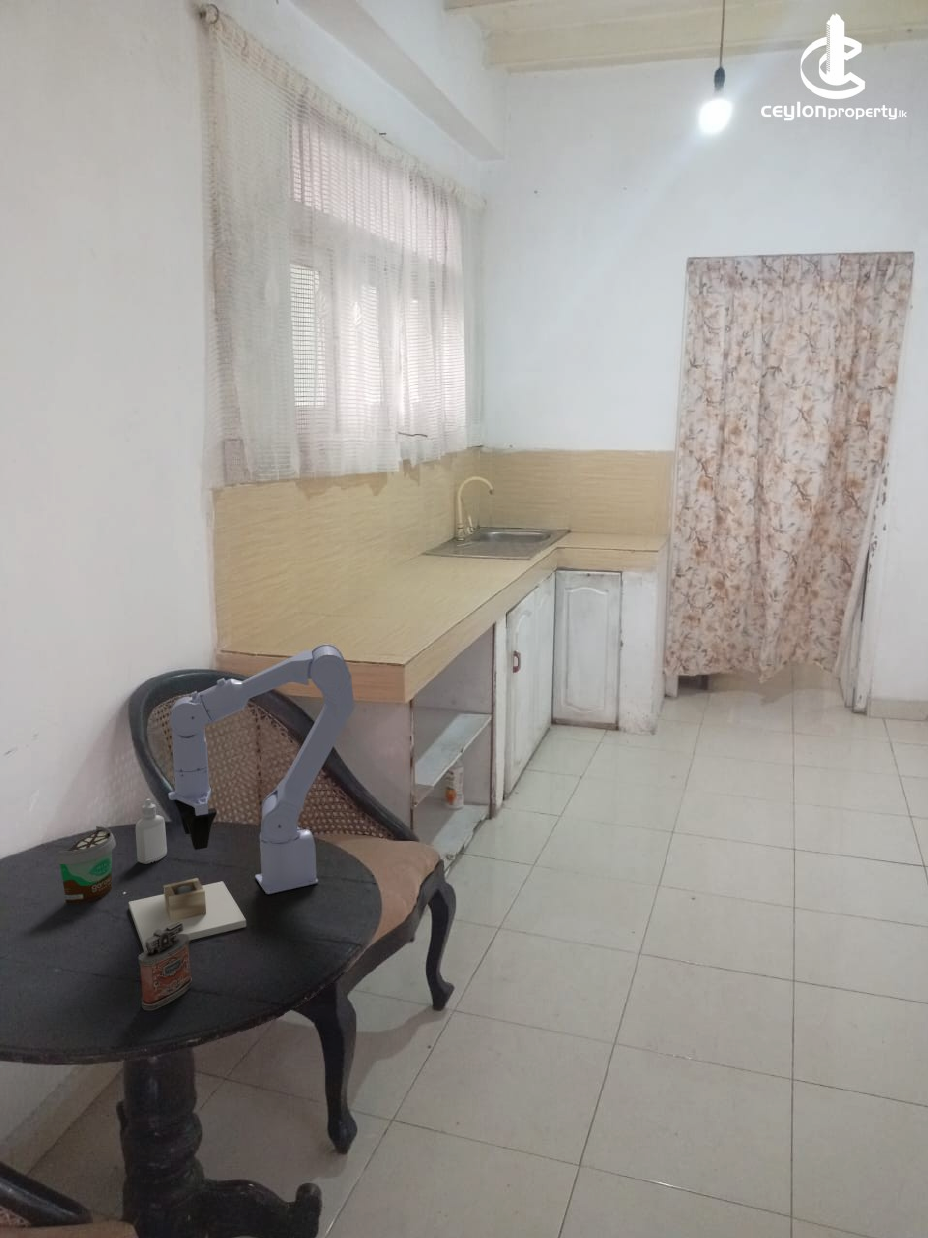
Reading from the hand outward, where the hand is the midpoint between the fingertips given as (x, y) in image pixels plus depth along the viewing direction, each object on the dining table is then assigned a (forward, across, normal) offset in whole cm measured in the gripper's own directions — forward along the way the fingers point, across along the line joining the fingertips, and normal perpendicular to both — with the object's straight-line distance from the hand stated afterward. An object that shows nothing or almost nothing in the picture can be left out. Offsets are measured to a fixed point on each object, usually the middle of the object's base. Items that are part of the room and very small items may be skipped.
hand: (195, 840), depth 163 cm
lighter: (+10, +31, -11) cm, 34 cm away
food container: (+10, -8, -16) cm, 20 cm away
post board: (+9, +9, -4) cm, 14 cm away
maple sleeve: (+8, +9, -4) cm, 13 cm away
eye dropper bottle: (+10, -18, -5) cm, 21 cm away
